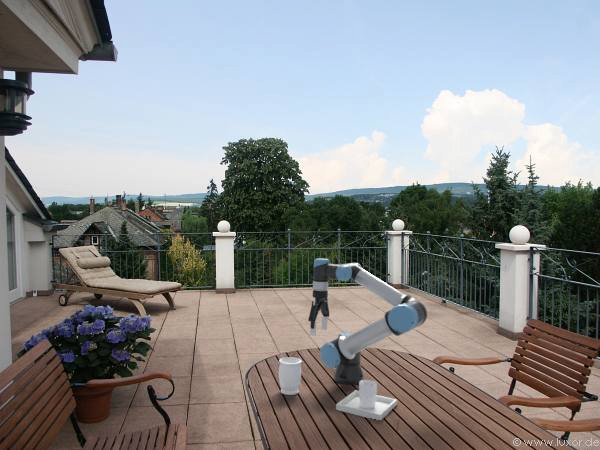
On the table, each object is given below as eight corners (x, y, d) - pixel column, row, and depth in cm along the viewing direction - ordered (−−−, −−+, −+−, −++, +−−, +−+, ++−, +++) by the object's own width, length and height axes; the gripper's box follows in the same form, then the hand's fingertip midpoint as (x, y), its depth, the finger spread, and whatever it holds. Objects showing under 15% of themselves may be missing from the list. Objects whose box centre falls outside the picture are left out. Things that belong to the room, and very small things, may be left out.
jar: (303, 390, 224) (304, 358, 224) (296, 397, 214) (297, 364, 214) (282, 386, 228) (283, 355, 227) (274, 394, 218) (275, 361, 218)
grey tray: (355, 395, 219) (355, 390, 219) (397, 405, 209) (397, 399, 209) (336, 409, 202) (336, 403, 202) (380, 421, 192) (380, 415, 192)
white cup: (376, 410, 201) (376, 387, 201) (357, 408, 202) (358, 385, 202) (377, 403, 209) (377, 380, 208) (359, 401, 210) (359, 379, 210)
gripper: (323, 285, 248) (321, 326, 248) (302, 292, 225) (300, 336, 226) (336, 287, 244) (335, 328, 245) (316, 293, 222) (314, 338, 222)
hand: (318, 332), depth 235 cm, fingers open, 13 cm apart
